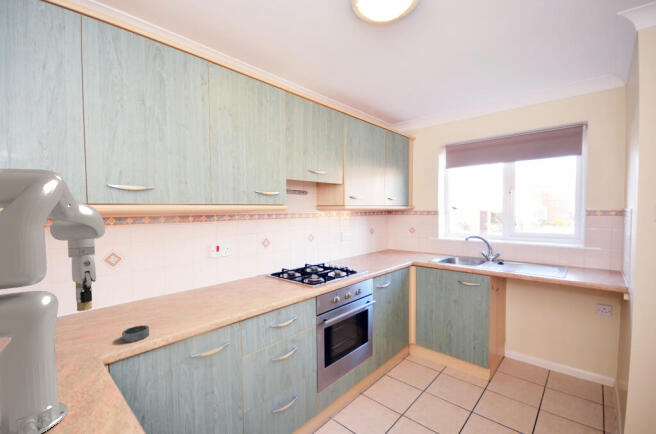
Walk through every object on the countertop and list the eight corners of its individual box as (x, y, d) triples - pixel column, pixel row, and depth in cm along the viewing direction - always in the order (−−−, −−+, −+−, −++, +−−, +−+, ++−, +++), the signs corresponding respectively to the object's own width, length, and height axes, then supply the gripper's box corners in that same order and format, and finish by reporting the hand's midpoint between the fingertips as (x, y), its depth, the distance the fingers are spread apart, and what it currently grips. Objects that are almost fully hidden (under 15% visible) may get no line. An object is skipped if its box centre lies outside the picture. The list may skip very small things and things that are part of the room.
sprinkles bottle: (95, 308, 107) (93, 272, 106) (80, 312, 102) (78, 275, 102) (88, 306, 109) (86, 272, 108) (73, 310, 104) (72, 274, 104)
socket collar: (153, 335, 113) (152, 328, 113) (128, 344, 106) (127, 336, 106) (143, 330, 118) (142, 323, 118) (119, 339, 111) (118, 331, 111)
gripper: (102, 251, 104) (104, 301, 104) (86, 250, 113) (89, 295, 113) (75, 254, 97) (78, 307, 98) (61, 252, 107) (64, 300, 107)
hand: (84, 300), depth 105 cm, fingers closed on sprinkles bottle, 4 cm apart
